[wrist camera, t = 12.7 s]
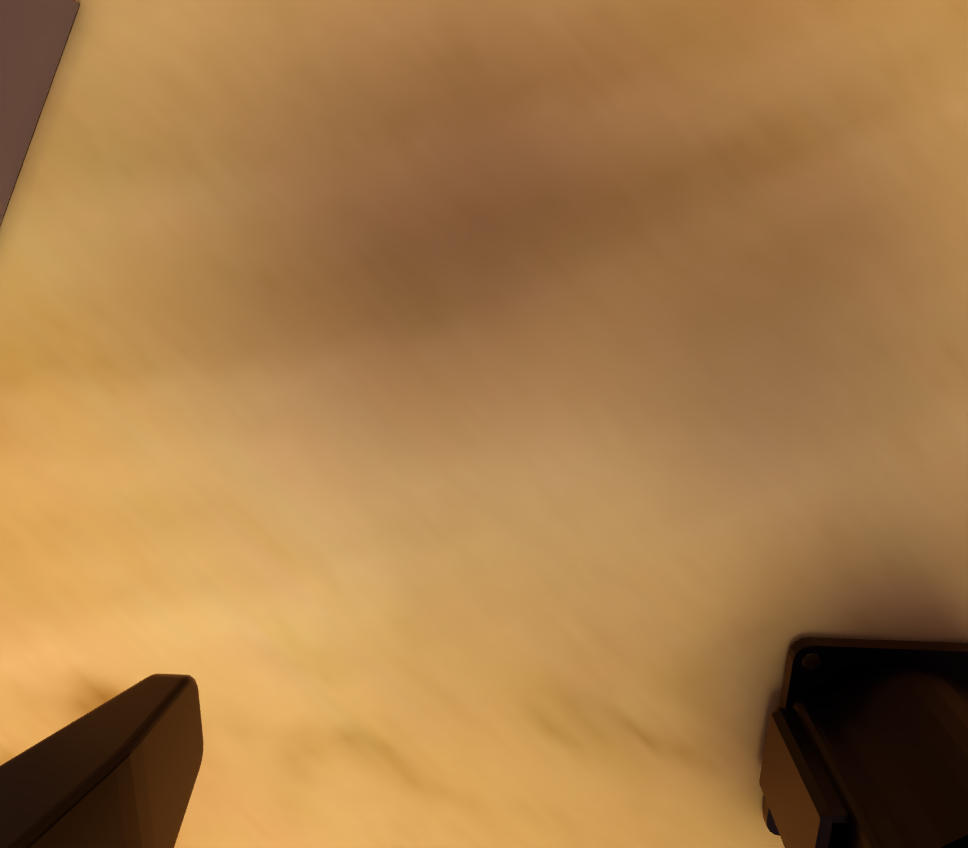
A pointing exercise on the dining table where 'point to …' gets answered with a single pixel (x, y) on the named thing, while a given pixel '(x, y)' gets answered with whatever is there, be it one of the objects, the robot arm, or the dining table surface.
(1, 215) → the grey square frame
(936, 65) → the dining table surface
